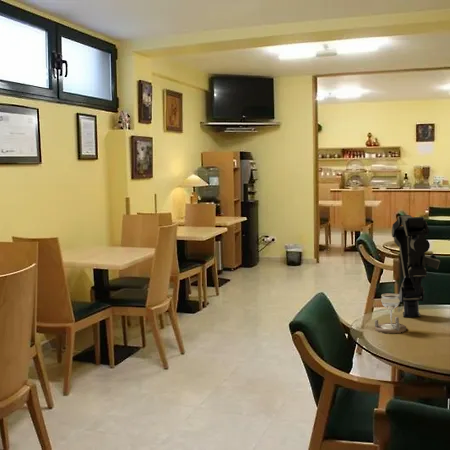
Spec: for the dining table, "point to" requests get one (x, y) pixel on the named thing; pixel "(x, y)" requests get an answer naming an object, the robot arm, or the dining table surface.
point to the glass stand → (383, 329)
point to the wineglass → (390, 304)
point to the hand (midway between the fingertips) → (417, 290)
